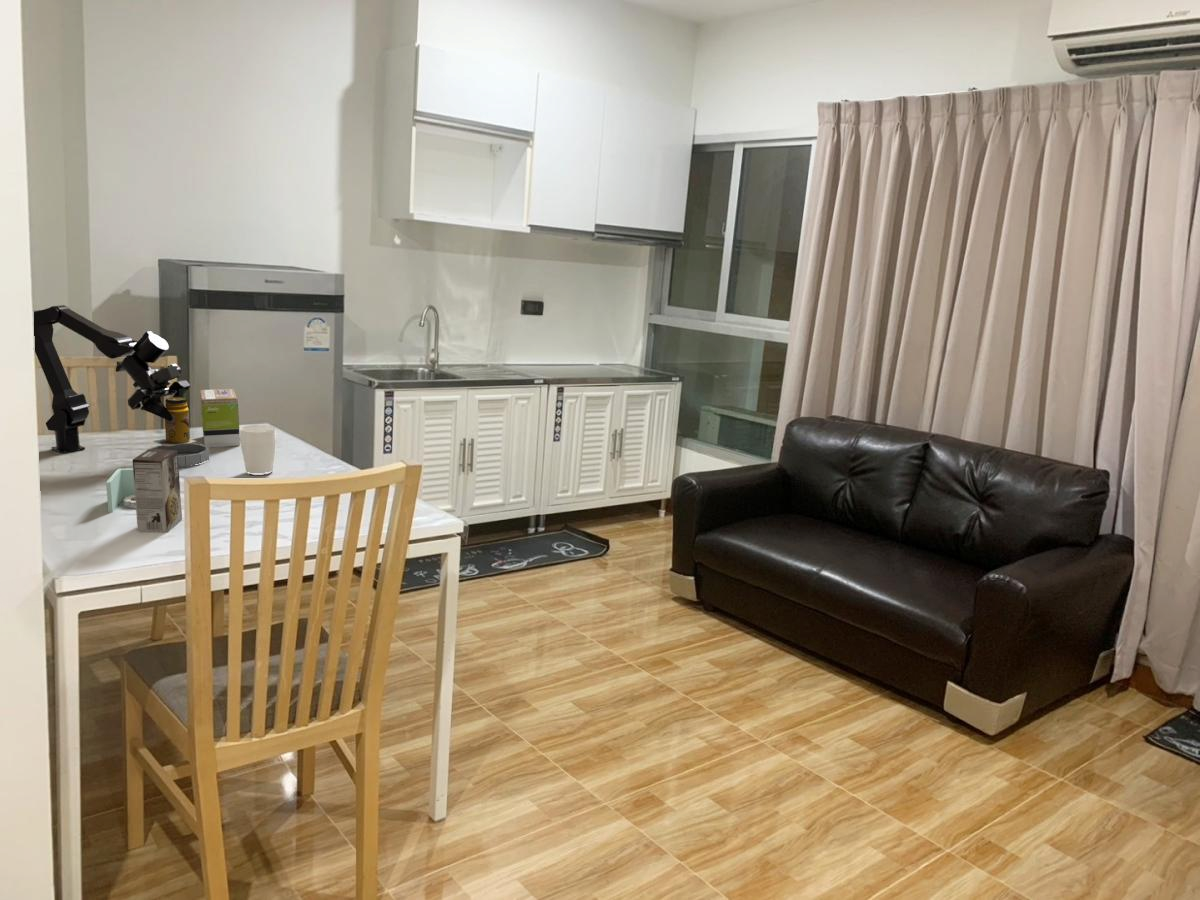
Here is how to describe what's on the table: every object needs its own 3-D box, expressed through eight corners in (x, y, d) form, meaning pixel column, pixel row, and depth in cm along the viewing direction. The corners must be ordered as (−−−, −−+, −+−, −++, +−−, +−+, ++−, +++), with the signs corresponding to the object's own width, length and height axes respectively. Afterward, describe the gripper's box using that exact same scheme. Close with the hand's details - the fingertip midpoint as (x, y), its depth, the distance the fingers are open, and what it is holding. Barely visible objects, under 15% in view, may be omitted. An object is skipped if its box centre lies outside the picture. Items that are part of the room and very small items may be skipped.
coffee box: (153, 519, 203) (148, 448, 199) (183, 519, 204) (178, 449, 200) (136, 532, 194) (130, 458, 191) (167, 533, 195) (162, 459, 191)
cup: (284, 471, 246) (283, 427, 243) (262, 478, 238) (260, 434, 235) (257, 466, 249) (255, 423, 246) (233, 474, 241) (231, 429, 238)
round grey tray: (136, 459, 250) (135, 449, 249) (191, 450, 262) (190, 440, 261) (165, 470, 241) (164, 459, 240) (220, 461, 253) (220, 450, 252)
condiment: (197, 441, 251) (195, 398, 248) (168, 447, 244) (166, 402, 241) (180, 437, 255) (178, 394, 252) (152, 442, 248) (149, 398, 245)
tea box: (202, 436, 279) (199, 388, 275) (237, 435, 283) (235, 388, 280) (203, 448, 266) (201, 398, 262) (240, 446, 270) (238, 397, 266)
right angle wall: (108, 514, 206) (106, 482, 205) (120, 499, 218) (117, 468, 216) (166, 512, 210) (164, 480, 208) (175, 497, 221) (173, 467, 219)
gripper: (134, 359, 236) (173, 405, 237) (183, 351, 254) (219, 394, 254) (110, 386, 240) (148, 431, 240) (160, 376, 258) (195, 418, 258)
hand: (179, 418), depth 248 cm, fingers closed on condiment, 6 cm apart
